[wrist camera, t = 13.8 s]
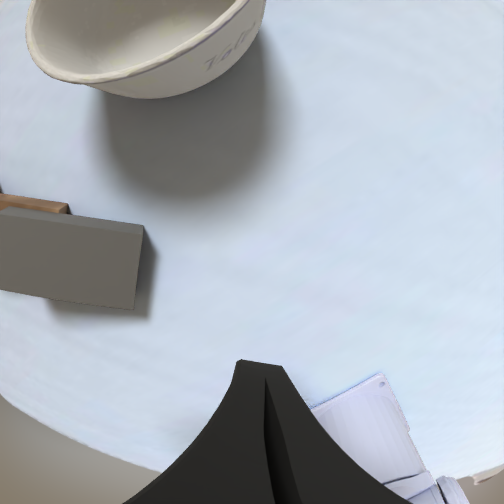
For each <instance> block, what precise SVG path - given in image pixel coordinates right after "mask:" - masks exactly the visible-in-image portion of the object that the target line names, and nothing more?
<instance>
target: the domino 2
mask: <svg viewBox="0 0 504 504" xmlns="http://www.w3.org/2000/svg"><path fill="white" fill-rule="evenodd" d="M142 239H143V225H138V224H131V223H124V222H117V221H110V220H104V219H97V218H90V217H83V216H76V215H69V214H62V213H55V212H48V211H41V210H33V209H26V208H19V207H12V206H8V207H7V208H5V209H3V210H1V211H0V290H5V291H10V292H15V293H20V294H26V295H31V296H37V297H43V298H49V299H55V300H61V301H68V302H74V303H81V304H88V305H96V306H103V307H111V308H120V309H128V310H134V302H135V292H136V283H137V275H138V267H139V260H140V252H141V246H142Z"/></svg>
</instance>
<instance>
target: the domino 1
mask: <svg viewBox="0 0 504 504" xmlns="http://www.w3.org/2000/svg"><path fill="white" fill-rule="evenodd" d="M8 206H12V207H19V208H26V209H33V210H41V211H48V212H55V213H62V214H67V208H68V204H67V203H61V202H54V201H48V200H41V199H35V198H28V197H22V196H15V195H8V194H1V193H0V211H1V210H3V209H5V208H7V207H8Z"/></svg>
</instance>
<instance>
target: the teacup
mask: <svg viewBox="0 0 504 504" xmlns="http://www.w3.org/2000/svg"><path fill="white" fill-rule="evenodd" d="M265 4H266V0H32V1H31V4H30V7H29V10H28V15H27V20H26V28H25V29H26V43H27V47H28V50H29V52H30V55H31V57H32V59H33V61H34V62H35V64H36V65H37V66H38V67H39V68H40V69H41V70H42V71H43V72H44V73H46V74H47V75H49V76H50V77H52V78H54V79H57V80H60V81H64V82H68V83H73V84H84V85H87V86H90V87H93V88H96V89H99V90H102V91H106V92H109V93H112V94H116V95H120V96H125V97H131V98H140V99H155V98H164V97H170V96H175V95H179V94H183V93H186V92H189V91H191V90H194V89H196V88H198V87H201V86H203V85H205V84H207V83H208V82H210V81H212V80H214V79H216V78H217V77H219V76H220V75H222V74H223V73H224V72H226V71H227V70H228V69H229V68H230V67H232V66H233V65H234V64H235V63H236V62H237V61H238V60H239V59H240V58H241V57H242V55H243V54H244V53H245V52H246V50H247V49H248V48H249V47H250V45H251V43H252V42H253V40H254V39H255V37H256V35H257V32H258V30H259V28H260V25H261V22H262V19H263V15H264V10H265Z"/></svg>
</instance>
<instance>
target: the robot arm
mask: <svg viewBox="0 0 504 504" xmlns="http://www.w3.org/2000/svg"><path fill="white" fill-rule="evenodd" d="M381 382H382V383H381ZM380 383H381V384H380ZM409 430H410V428H409V425H408V423H407V421H406V419H405V417H404V415H403V413H402V410H401V408H400V406H399V404H398V402H397V400H396V398H395V396H394V394H393V391H392V389H391V387H390V385H389V383H388V381H387V379H386V377H385V375H384V374H383V373H378V374H376V375H374V376H373V377H371V378H369V379H368V380H366V381H364V382H362V383H361V384H359V385H357V386H355V387H353V388H352V389H350V390H348V391H346V392H344V393H342V394H340V395H338V396H337V397H335V398H333V399H331V400H329V401H327V402H325V403H323V404H321V405H319V406H317V407H315V408H312V409H309V408H308V406H307V405H306V403H305V402H304V400H303V399H302V397H301V396H300V394H299V393H298V391H297V390H296V388H295V386H294V385H293V383H292V382H291V380H290V378H289V377H288V375H287V373H286V372H285V370H284V369H283V367H282V366H279V365H272V364H266V363H260V362H254V361H248V360H242V359H241V360H239V361H237V362H236V366H235V370H234V374H233V378H232V382H231V384H230V386H229V388H228V390H227V392H226V394H225V396H224V398H223V400H222V402H221V403H220V405H219V407H218V408H217V410H216V411H215V413H214V414H213V416H212V417H211V419H210V420H209V422H208V423H207V425H206V426H205V427H204V429H203V430H202V431H201V432H200V434H199V435H198V436H197V437H196V439H195V440H194V441H193V442H192V443H191V445H190V446H189V447H188V448H187V449H186V450H185V451H184V452H183V453H182V454H181V455H180V456H179V457H178V458H177V459H176V460H175V462H174V463H173V464H172V465H170V466H169V467H168V468H167V469H166V470H165V471H164V472H163V473H162V474H161V475H160V476H158V477H157V478H156V479H155V480H153V481H152V482H151V483H150V484H149V485H147V486H146V487H145V488H143V489H142V490H141V491H140V492H138V493H137V494H136V495H135V496H133V497H132V498H130V499H129V500H127V501H126V502H124V503H123V504H469V502H468V500H467V498H466V496H465V494H464V492H463V490H462V489H461V487H460V486H459V484H458V482H457V481H456V480H455V478H452V477H446V476H441V477H439V478H438V479H436V481H437V484H438V486H439V489H440V492H439V490H438V488H437V487H436V484H435V482H434V480H433V478H432V476H431V474H430V472H429V470H426V468H425V466H424V464H423V461H422V459H421V457H420V455H419V453H418V451H417V449H416V447H415V445H414V443H413V441H412V439H411V437H410V435H409V434H408V432H409ZM440 493H441V495H442V496H441V495H440ZM442 498H443V499H442ZM443 500H444V501H443Z"/></svg>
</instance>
